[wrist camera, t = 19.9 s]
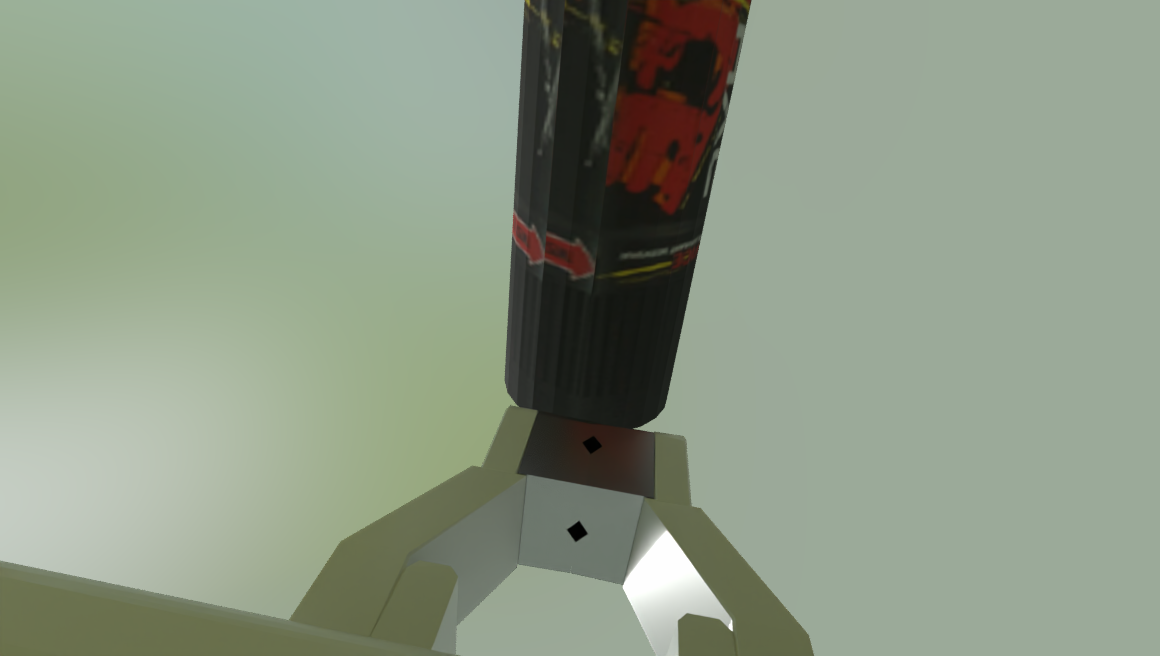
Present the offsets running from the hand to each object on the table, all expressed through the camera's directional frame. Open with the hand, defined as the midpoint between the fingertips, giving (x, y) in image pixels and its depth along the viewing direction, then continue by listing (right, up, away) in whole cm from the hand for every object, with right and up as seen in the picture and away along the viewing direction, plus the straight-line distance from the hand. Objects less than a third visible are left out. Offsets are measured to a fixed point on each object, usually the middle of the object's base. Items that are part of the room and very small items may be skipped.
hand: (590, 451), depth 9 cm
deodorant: (+2, +14, +4) cm, 14 cm away
